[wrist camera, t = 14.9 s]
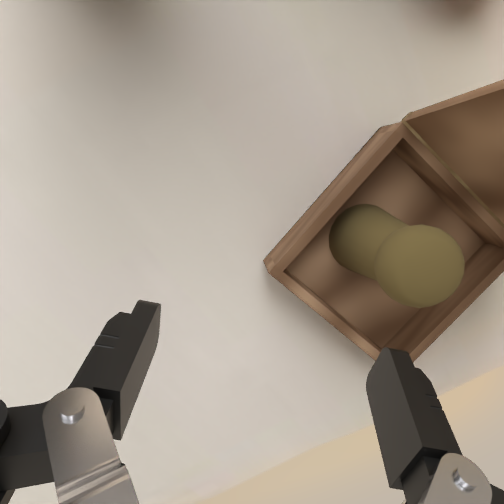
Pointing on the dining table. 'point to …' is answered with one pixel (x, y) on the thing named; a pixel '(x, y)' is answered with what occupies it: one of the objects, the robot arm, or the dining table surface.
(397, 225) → the olive tapered rounded piece
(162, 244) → the dining table surface
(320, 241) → the walnut box
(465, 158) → the box lid
